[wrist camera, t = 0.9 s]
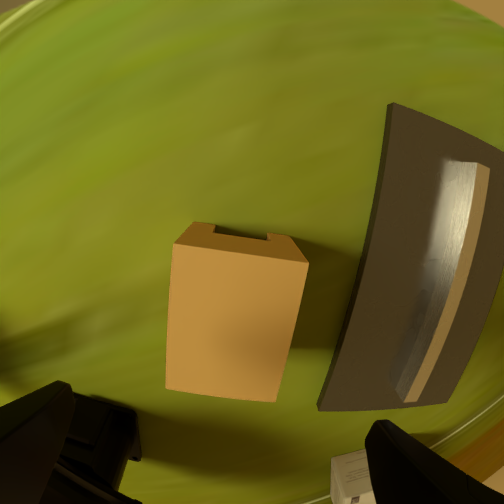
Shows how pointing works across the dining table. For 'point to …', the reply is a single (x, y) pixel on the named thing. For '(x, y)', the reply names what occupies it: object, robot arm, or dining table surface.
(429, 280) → the plate
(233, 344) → the block
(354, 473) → the small box
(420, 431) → the dining table surface
